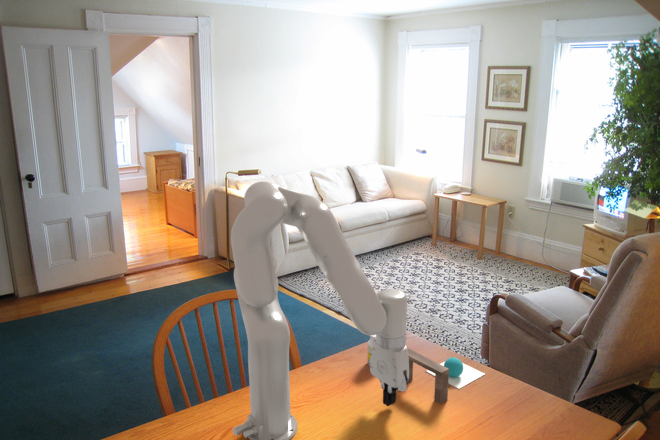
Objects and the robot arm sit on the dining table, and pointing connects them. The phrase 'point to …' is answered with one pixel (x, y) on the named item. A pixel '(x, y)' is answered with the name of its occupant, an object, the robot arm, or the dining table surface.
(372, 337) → the supplement bottle
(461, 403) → the dining table surface
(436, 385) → the bridge
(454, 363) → the ball
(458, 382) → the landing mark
